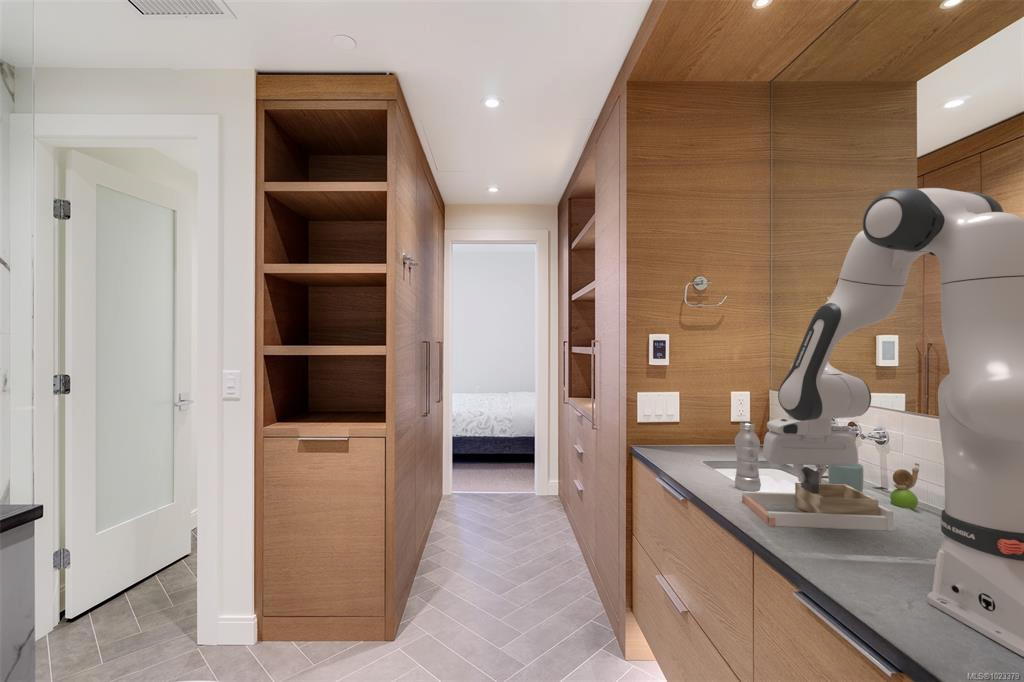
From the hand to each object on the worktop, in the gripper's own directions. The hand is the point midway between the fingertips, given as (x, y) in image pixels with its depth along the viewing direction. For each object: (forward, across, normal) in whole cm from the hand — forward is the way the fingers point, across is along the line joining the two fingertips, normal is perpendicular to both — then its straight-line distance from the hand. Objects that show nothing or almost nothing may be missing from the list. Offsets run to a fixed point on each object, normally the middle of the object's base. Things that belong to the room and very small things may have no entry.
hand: (809, 482), depth 110 cm
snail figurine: (+9, -28, -10) cm, 32 cm away
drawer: (+8, -6, 0) cm, 10 cm away
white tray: (+9, 0, 0) cm, 9 cm away
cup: (+9, -17, -16) cm, 25 cm away
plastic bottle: (+9, +7, -20) cm, 23 cm away
